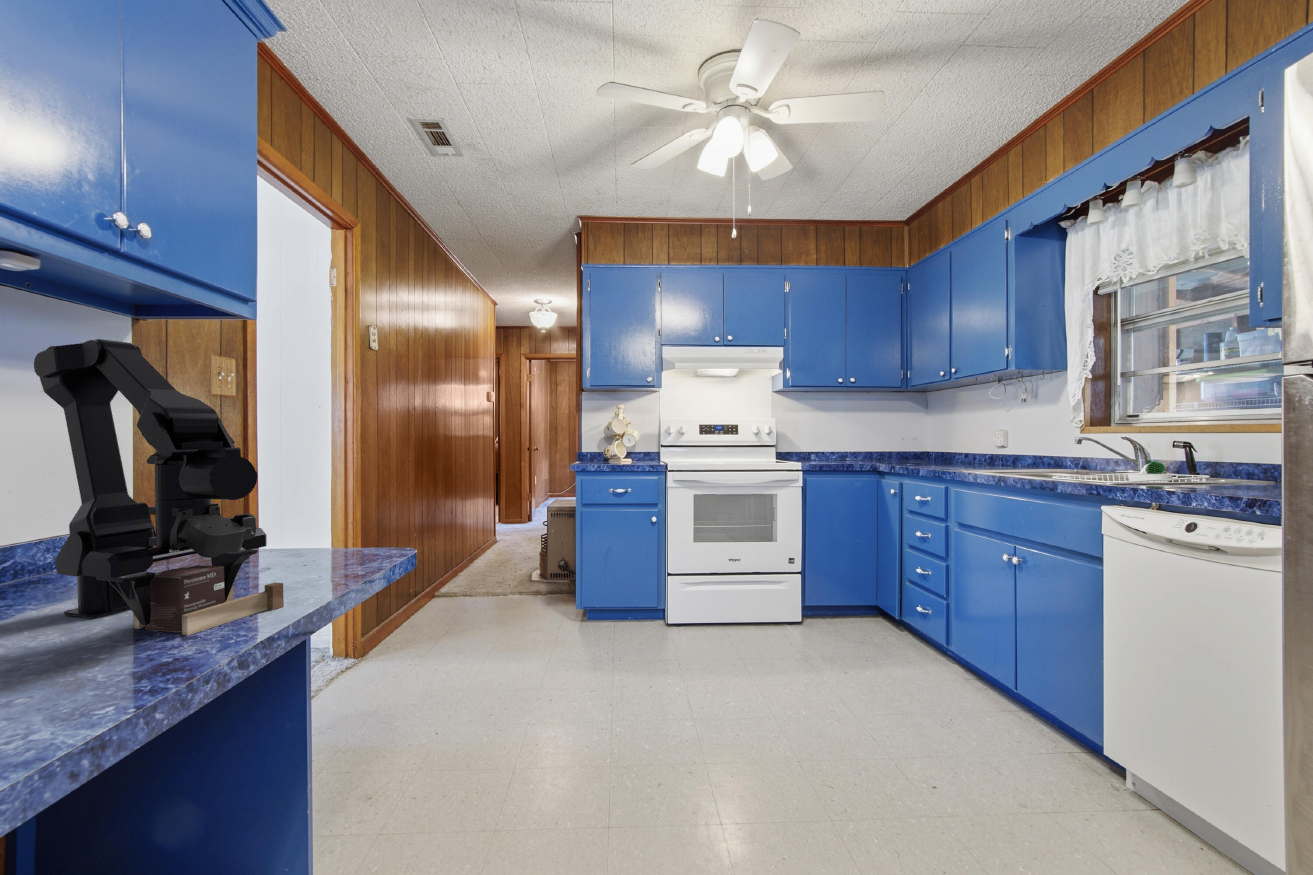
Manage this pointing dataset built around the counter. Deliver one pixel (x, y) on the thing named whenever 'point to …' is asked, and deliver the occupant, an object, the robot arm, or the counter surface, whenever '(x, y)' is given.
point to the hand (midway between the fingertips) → (185, 612)
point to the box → (183, 594)
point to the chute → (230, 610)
